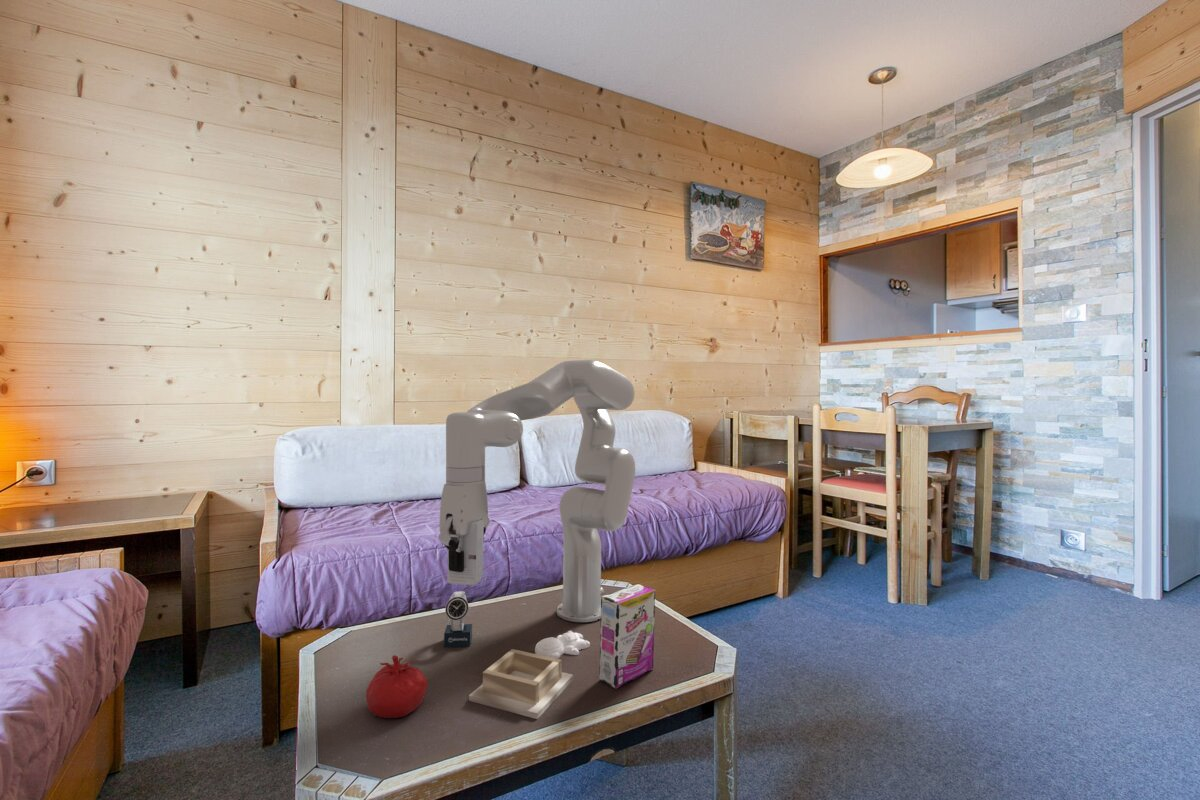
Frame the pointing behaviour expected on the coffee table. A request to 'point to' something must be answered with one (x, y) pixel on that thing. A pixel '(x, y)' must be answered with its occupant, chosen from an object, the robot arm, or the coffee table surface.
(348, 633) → the coffee table surface
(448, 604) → the watch
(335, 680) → the coffee table surface
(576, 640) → the astronaut figurine
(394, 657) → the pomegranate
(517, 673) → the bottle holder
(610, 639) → the candy bar box
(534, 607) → the coffee table surface
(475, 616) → the coffee table surface
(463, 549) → the skincare box
